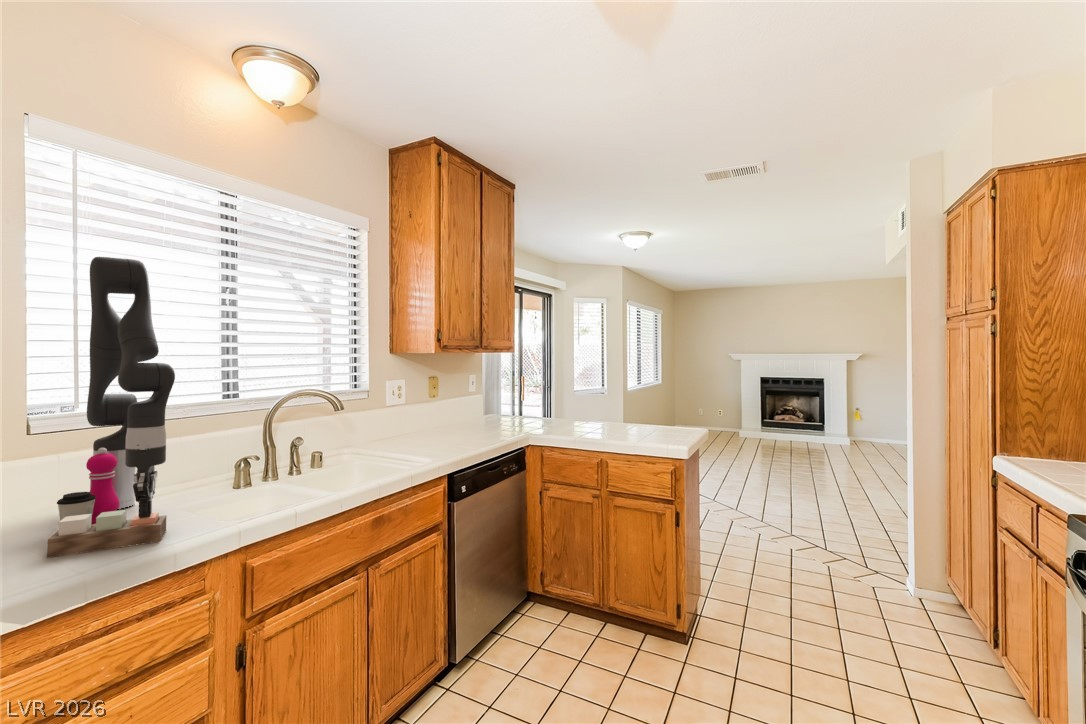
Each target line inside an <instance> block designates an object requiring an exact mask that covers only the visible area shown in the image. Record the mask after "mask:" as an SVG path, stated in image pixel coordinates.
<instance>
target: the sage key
mask: <svg viewBox="0 0 1086 724" xmlns="http://www.w3.org/2000/svg"><path fill="white" fill-rule="evenodd" d="M126 520H127V509H119V510H116V511H111V512H102V513H101V514H100V515H99V516H98V517H97V518H96V531H102V530H109V529H117V528H123V527H124V526H125V524H126Z"/></svg>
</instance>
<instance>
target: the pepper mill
mask: <svg viewBox="0 0 1086 724" xmlns="http://www.w3.org/2000/svg"><path fill="white" fill-rule="evenodd" d="M106 452H107V449H106V448H100V449H99V450H98V453H99V454H96V455H94V456H93V455H92V456H91V457H89V458H88V459H87V461H86V463H85V464H86V466H85V467H86V469H87V471H89V472H90V473H89V474H88V476H89V477H88V479H89V480H90V479H91V489H90V488H89V492H90V493H91V495H95V497H96V499H95V501H94V507H93V513H92V519H91V524H96V518H97V517H98V516H99V515H100V514H101V513H102V512H111V511H118V510H117V509H118V508H119V506H120V502H119V499H118V496H117V495H116V493H115V491H114V489H113V485H112V478H113V476H115V475H114V472H115V471H113V469H114V468H115V467H116V466H117V458H116V457H115V456H114V455H112V454H108V453H106Z"/></svg>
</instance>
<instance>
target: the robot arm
mask: <svg viewBox="0 0 1086 724" xmlns="http://www.w3.org/2000/svg"><path fill="white" fill-rule="evenodd" d="M89 286H90V287H89V289H90V300H91V301H90V303H91V304H90V305H91V320H90V335H89V372H90V373H89V385H88V394H87V404H86V419H87V422H88V424H89V425H90V426H93V427H109V426H110V427H111V426H122V427H121V428H120V429H119V430H117V431H116V432H114V433H112V434H109V435H106V436H103V437H100V438H98V439H95V440H94V441H93V444H92V445H93V446H92V447H93V448H92V450H93V451H92V452H93V453H92V454H93V455H92V456H94V455H96V454H99V453H98V450H99V449H100V448H106V449H107V452H106V453H108V454H112V455H114V456H115V457H116V458H117V466H116V467H115V468H114V469H113V471H115V472H114V475H115V476H113V478H112V485H113V489H114V491H115V493H116V495H117V496H118V499H119V502H120V506H119V508H118V509H119V510H122V509H121V508H124V509H126V508H125V507H128V508H130V507H129V506H131V507H133V506H134V505H135V503H136V502H137V503H138V515H139V517H140V518H144V517H149V516H150V515H151V514H152V513H153V512H152V511H153V509H152V508H153V507H152V506H153V505H152V504H153V503H152V502H153V499H154V495H155V494H156V490H155V489H156V487H157V478H158V470H155V466H159V465H162V464H164V463H166V461H167V456H166V455H167V431H166V408H167V404H168V400H169V396H170V393H171V391H172V389H173V386H174V384H175V379H176V374H175V373H176V372H175V370H174V368H173V367H172V366H171V364H168V363H166V362H148V361H150V360H153V359H154V358H156V357H157V356H158V355H159V345H158V342H157V341H158V340H157V338H156V333H155V330H154V324H153V318H152V316H153V315H152V304H151V303H152V302H151V291H150V281H149V273H148V270H147V267H146V266H145V264H144V262H143V261H141V260H138V259H132V258H131V259H130V258H121V257H120V258H119V257H110V256H109V257H108V256H95V257H93V258H92V259H91V261H90V265H89ZM109 294H119V295H120V294H121V295H134V300H133V303H132V304H131V305H130V307H129V309H128V310H127V311H126V312H125V314H124V315H123V316H122V317H120V314H118V313H117V311H115V309H114V307H113V306H112V304H111V303H110V299H109ZM146 361H147V362H146ZM116 378H117V383H118V386H119V387H120V388H122V389H121V390H123V391H125V392H127V393H106V391H107V390H108V388H109V386H110V384H111V383H112V382H113V381H114V380H115V379H116ZM143 392H144V393H145V392H147V393H148V392H150V393H151V392H152V394H151V396H150V397H148V398H147V399H145V400H142V401H138V399H137V397H136V395H135V394H133V393H143ZM105 393H106V394H105ZM90 489H91V479H89V490H90ZM132 505H133V506H132Z"/></svg>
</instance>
